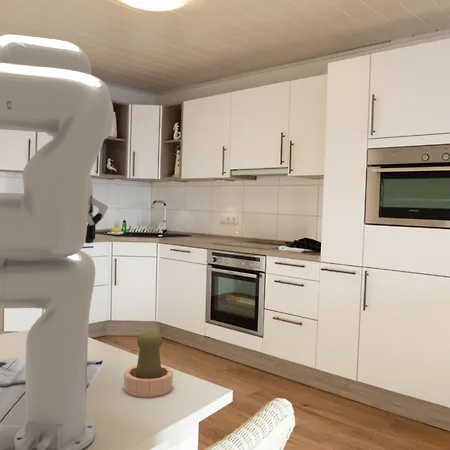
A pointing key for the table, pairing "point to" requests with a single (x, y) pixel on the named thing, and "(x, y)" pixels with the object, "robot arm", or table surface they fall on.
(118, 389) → the table surface
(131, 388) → the copper faceted bowl
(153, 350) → the cork
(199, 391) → the table surface
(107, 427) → the table surface
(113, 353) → the table surface
